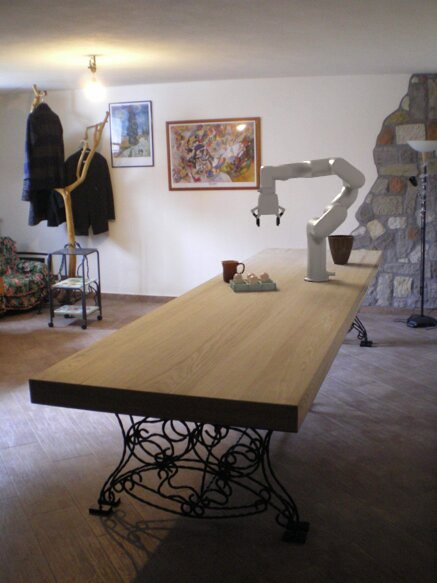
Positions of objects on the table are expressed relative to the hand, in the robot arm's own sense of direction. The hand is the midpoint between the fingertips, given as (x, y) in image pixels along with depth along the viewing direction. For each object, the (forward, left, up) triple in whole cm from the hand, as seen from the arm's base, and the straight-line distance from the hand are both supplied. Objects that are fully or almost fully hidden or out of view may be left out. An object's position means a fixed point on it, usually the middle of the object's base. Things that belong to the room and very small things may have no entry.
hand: (268, 226), depth 327 cm
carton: (+10, +13, -28) cm, 33 cm away
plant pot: (-52, -45, -28) cm, 74 cm away
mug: (+17, -6, -28) cm, 34 cm away
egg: (+10, +16, -28) cm, 34 cm away
